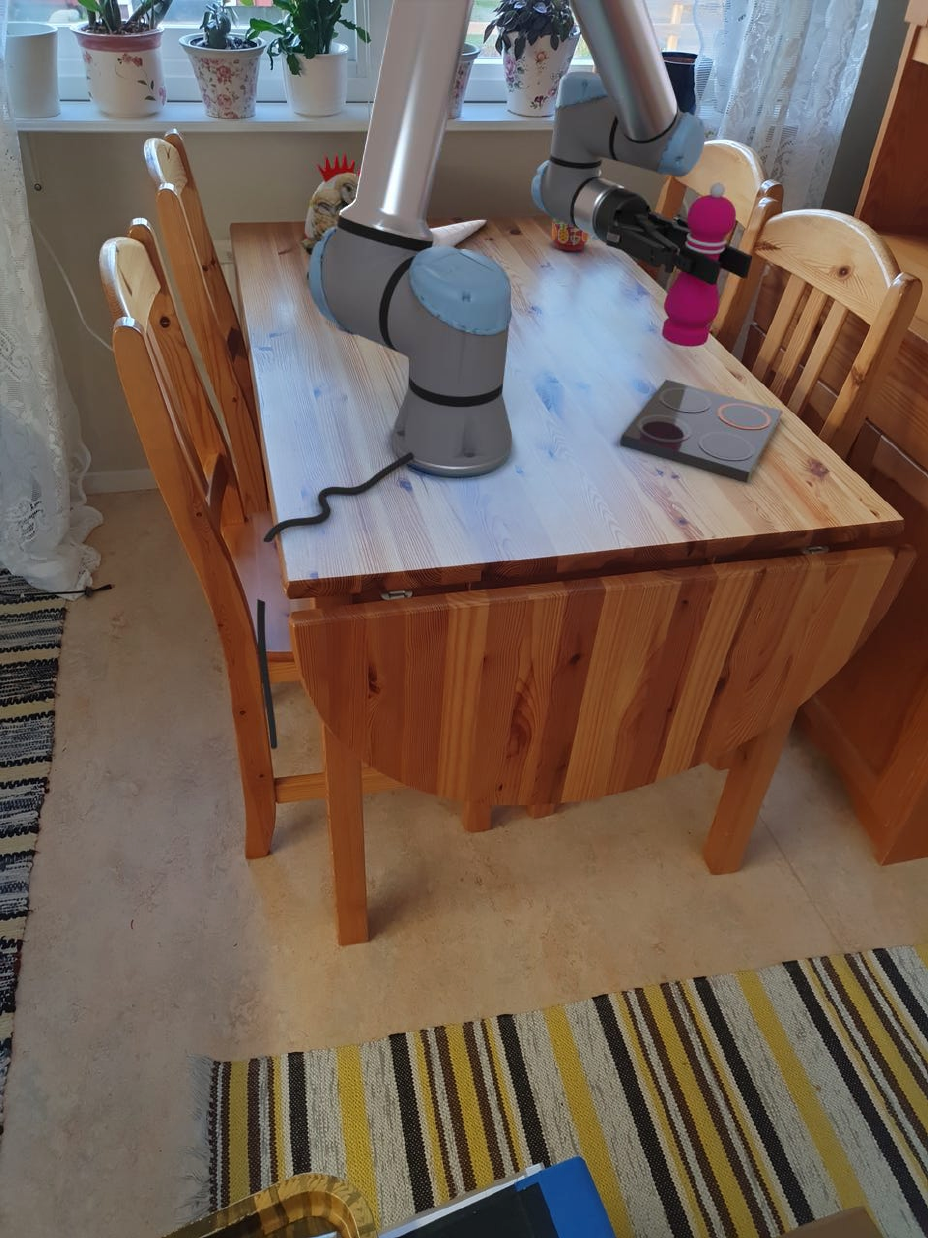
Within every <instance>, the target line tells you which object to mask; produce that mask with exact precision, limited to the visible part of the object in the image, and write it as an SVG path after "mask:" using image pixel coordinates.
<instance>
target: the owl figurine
mask: <svg viewBox="0 0 928 1238" xmlns="http://www.w3.org/2000/svg"><path fill="white" fill-rule="evenodd" d="M356 174H357V173H354V174H353V173H348V172H347V173H345V174H343V175H341V176H340V177H339V178H337V179H336V181H335V186H334V190H333V189H331V188H325V189H322V190H320V191H318V192H317V193H316V194H315V198H314V200H313V210H314V213H313V214H314V216H313V218H312V219H311V223H312V227H313V236H314V237H313V238H310V237H307V239H305V238H304V239H303V240H301V241H300V243H301V246H302V247H303V249H304V250H305V252H306V253H307V254H308V255H310V256H311V255H312V252H313V249H314V247H315V245H316V243H317V242H319V241H322V235H323V234H324V233H325V232H326V231H327V230H329V229H331V228H333V227H337V224H338V219H339V214H340V211H341V210H343V209H344V208H346V207H347V206H349V205H350V204H352V203H353V201H354V200H355V199H356V194H357V188H358V183H359V176H358V175H356ZM306 278H307V280H308V281H309V270H308V271H307V274H306Z"/></svg>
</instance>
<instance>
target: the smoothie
mask: <svg viewBox="0 0 928 1238" xmlns="http://www.w3.org/2000/svg"><path fill="white" fill-rule="evenodd" d="M601 175H602V171H601V170H600V172H599V176H600V177H601ZM588 239H589V234H587V233H585V232H583V231H581V230H579V229H578V228H575V227H573V226H571V225H569V224H567V223H565V222H563V221H560V220H557V219H554V218H552V227H551V240H553V246H554V247H555V248H556V249H558V250H562V251H565V252H576V251H580V250H582V249H583V248H584V247H585V244H586V243H587V242H588Z"/></svg>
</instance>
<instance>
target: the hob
mask: <svg viewBox="0 0 928 1238" xmlns="http://www.w3.org/2000/svg"><path fill="white" fill-rule="evenodd" d="M782 414H783V410H780V409H775V408H772V407H769V406H767V405H766V406H765V405H762V404H758V403H754V402H750V401H747V400H744V399H740V398H735V397H733V396H728V395H724V394H721V393H718V392H713V391H710V390H707V389H703V388H699V387H695V386H692V385H687V384H684V383H680V382H677V381H672V380H670V379H665V380H664V381H663V383H662V384H661V385H660V387H658V389H657V390H656V392H655V393H653V395H652V396H651V398H649V400H648V401H647V403H646V404H645V405H644V406H643V408H642V409H641V410H640V411H639V413H638V414H637V416H636V417H635V418H634V419H633V421H632V422H631V423H630V425H629V426H628V427H626V430H625V431H624V432H623V433H622V435H621V438H620V443H619V444H620V446H623V447H626V448H629V449H633V450H636V451H640V452H643V453H647V454H649V455H653V456H657V457H659V458H664V459H666V460H670V461H673V462H676V463H680V464H683V465H687V466H690V467H693V468H696V469H699V470H703V471H705V472H706V471H707V472H709V473H714V474H717V475H721V476H723V477H727V478H729V479H733V480H737V481H740V482H744V483H748V482H749V479H750V477H751V476H752V473H753V471H754V470H755V468H756V466H757V464H758V462H759V460H760V458H761V457H762V455H763V453H764V451H765V449H766V447H767V445H768V443H769V441H770V439H771V438H772V436H773V434H774V433H775V430H776V428H777V426H778V425H779V422H780V421H781V417H782Z"/></svg>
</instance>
